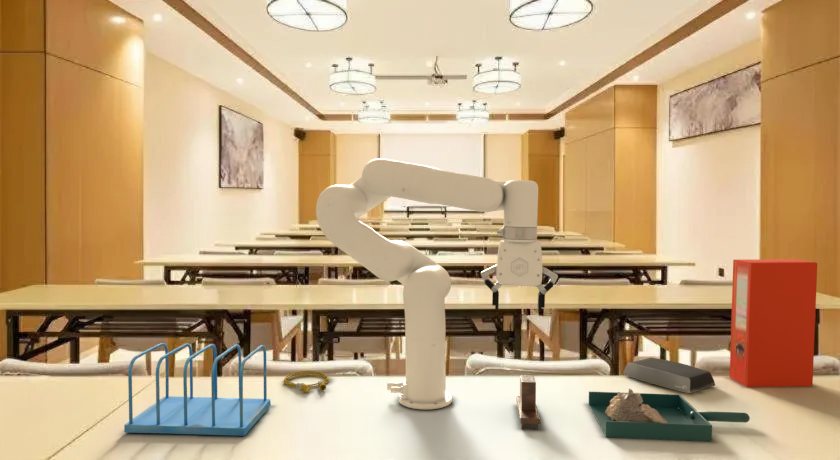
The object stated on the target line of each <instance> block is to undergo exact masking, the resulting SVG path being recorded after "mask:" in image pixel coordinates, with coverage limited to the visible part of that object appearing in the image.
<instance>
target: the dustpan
mask: <svg viewBox="0 0 840 460" xmlns="http://www.w3.org/2000/svg"><path fill="white" fill-rule="evenodd" d="M622 393H623V394H624V393H626V394H628V392H622ZM639 393H640V396H641V397H642V400H643V402H642V404H645V405H649V406H650V408H653V409H655V410H657V411H658V413H659V414H660V416H661V417H662V418H665V420H666V421H667V422H668V423H651V422H625V421H616V420H613V421H611V420H612V419H611V417H608V415H607V413H605V411H606V410H607V408H608V406H609V405H610V401H611V399H613V398H614V396H617V394H618V393H617V391H615V392H613V391H588V407H589V408H590V410H591V412H592V414H593V416H594V418H595V419H596V422H597V423H598V425H599V427H600V429H601V431H602V433H603V435H604V437H605V438H617V439H618V438H619V439H642V440H643V439H645V440H665V441H666V440H667V441H689V442H690V441H691V442H692V441H693V442H710V441H713V425H712V423H710V422H721V423H743V424H744V423H746V424H747V423H748V422H750V420H751V418H750V415H749V414H748V413H746V412H741V411H740V412H737V411H736V412H735V411H711V410H709V411H707V410H697V409H696V407H694V406H693V405H692V404H690V402H688V401H687V400H686V399H685V398H684V396H682V394H677V393H676V394H674V393H673V394H672V393H646V392H644V393H643V392H639ZM639 406H641V404H640V405H639Z"/></svg>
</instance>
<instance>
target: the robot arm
mask: <svg viewBox="0 0 840 460" xmlns="http://www.w3.org/2000/svg"><path fill="white" fill-rule="evenodd" d="M391 197H392V198H398V199H403V200H408V201H413V202H419V203H424V204H428V205H429V204H430V205H443V206H447V207H454V208H459V209H463V210H470V211H473V212H474V211H475V212H480V213H490V212H498V211H503V227H502V228H498V229H497V230H496V235H497V236H499V237H502V239H501V240H499V244H498V248H497V256H496V257H497V258H496V264H495V265H492V266H490V267H489V268H486V269H484V270H482V271H481V272H480V276H481V278H482V280H483V282H484V284H485V285H486V286H487V288H489V290H490V291H491V293H492V299H491V300H492V303H491V306H494V310H495V311H498V310H499V305H500V304H499V300H500V291H499V289H500V288H501V287H502V286H517V287H519V286H520V287H521V286H522V287H536V289H537V290H538V292H537V311H538V312H539V313H542V309H543V308H545V307H546V304H545V303H546V294H547V293H548V292H549V291H550V290H551V289H552V288H553V287H554V285H555V283H556V282H557V280H558V279H559V278H558V277H559V275H558V274H557V273H556V272H554V271H552V270H550V269H548V268H547V267H545V266H544V265H543V251H542V244H541V241H539V240H538V213H539V212H538V211H539V209H538V208H539V185H538V183H537V181H534V180H529V179H511V180H508V181H502V180H495V179H493V178H490V177H485V176H478V175H471V174H467V173H466V174H465V173H460V172H454V171H449V170H444V169H440V168H438V167H434V166H429V165H423V164H419V163H418V164H417V163H412V162H411V163H410V162H405V161H399V160H395V159H388V158H381V157H380V158H378V157H377V158H374V159H370V161H368V162H367V163H366V164H365V165H364V167H363V169H362V172H361V177H359V178H358V179H356V180H355V181H353V182H352V183H350V184H334V185H329V186H328V187H326V188H325V189H323V190H322V191H321V192H320V194H319V195H318V198H317V201H316V206H315V208H316V209H315V215H316V221H317V223H318V226H319V228H320V230H321V232H322V234H323V235H324V236H325V237H326V239H328V241H330V242H331V243H332V244H333V245H334V246H335V247H336V248H338V249H339V250H340V251H342V252H343V253H345V254H346V255H347V256H349V257H350V258H352V259H353V260H354V261H355V262H356V263H358V264H359V265H360V266H362V267H363V268H365V269H366V270H368V272H370V273H372V275H374V276H375V277H377V278H378V279H380V280H381V281H385V282H394V281H397V282H398V283H400V284H402V285H403V291H402V297H403V299H402V300H403V307H404V308H403V309H404V310H403V311H404V323H405V324H404V335H405V378H404V380H402V381H400V382H396V381H395V382H394V381H388V382H387V383H386V384H387V385H386V390H387V391H390V393H394V394H396V393H397V394H398V393H400V394H399V396H398V402H399V404H401V406H404V407H406V408H409V409H414V410H423V411H424V410H427V411H428V410H438V409H442V408H445V407H448V406H449V405H450V404H451V403H452V402H453V395H452V394H451V393H450V392H448V391H446V388H447V387H446V383H447V382H446V381H447V380H446V379H447V378H446V375H447V373H446V367H447V366H446V363H447V362H446V359H447V357H446V356H447V355H446V354H447V353H446V352H447V351H446V350H447V348H446V346H447V341H446V340H447V339H446V337H447V335H446V333H447V332H446V331H447V329H446V328H447V327H446V308H445V307H446V305H445V301H446V297H447V296H448V295H449V293H450V292H451V289H452V280H451V276H450V274H449V272H448V271H447V270H446V269H445V268H444V267H443V266H442V265H440V264H439V263H437V262H436V261H435V260H433V259H432V258H430V257H429V256H428V255H426V254H424V253H423V252H422V251H421V250H419V249H418V248H416V247H415V246H413V245H411V244H410V243H408V242H406V241H403V240H399V239H393V240H390V239H388V238H386V237H385V236H383V235H382V234H380V233H379V232H377V231H376V230H375V229H373V228H372V227H371V226H369V225H367V224H366V223H364V222H362V221H361V220H359V219H358V218H360V217H362V216H364V215H366V214H367V213H368V212H370V211H372V210H374V209H375V208H376V207H378V206H380V205H381V204H383V203H384V202H385V201H387V200H388V199H390V198H391ZM493 273H496V276H495V277H496V281H495V283H493V282H492V281H491V279H490V277H489V275H491V274H493ZM543 275H546V276H547V277H549V280H548V282H547V283H545V285H543V284H542V282H543Z"/></svg>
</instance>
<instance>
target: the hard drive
mask: <svg viewBox="0 0 840 460" xmlns="http://www.w3.org/2000/svg"><path fill="white" fill-rule="evenodd" d="M625 365H626V366H625V367H624V370H623V372H622V375H624V376H626V377H630V378H632V379H636V380H639V381H642V382H645V383H647V384H648V383H649V384H653V385H656V386H659V387H662V388H667V389H670V390H674V391H678V392H682V393H686V394H692V393H696V392H699V391H702V390H706V389H709V388H711V387H714V386H716V383H715V379H714V377H713V375H712V373H711V372H710V371H707V370H705V369H702V368H699V367H695V366H692V365H689V364H686V363H681V362H677V361H674V360H673V361H672V360H667V359H663V358H657V357H647V358H643V359H641V360H640V359H639V360H635V361H631V362H630V361H629V362H627V364H625Z"/></svg>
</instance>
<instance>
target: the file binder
mask: <svg viewBox="0 0 840 460" xmlns="http://www.w3.org/2000/svg"><path fill="white" fill-rule="evenodd" d="M817 281H818V262H817V261H810V260H804V259H797V258H796V259H795V258H792V259H790V258H789V259H787V258H783V259H779V258H778V259H776V258H775V259H774V258H773V259H769V258H768V259H766V258H765V259H763V258H762V259H761V258H759V259H757V258H756V259H733V260H732V285H731V286H732V287H731V288H732V291H731V317H730V319H731V321H730V322H731V323H730V349H729V350H730V352H729V359H730V360H729V378H730V379H731V380H733V381H735V382H736V383H738V384H740V385H742V386H744V387H746V388H763V387H764V388H769V387H770V388H771V387H772V388H773V387H777V388H778V387H780V388H781V387H784V388H785V387H812V386H813V382H814V362H815V361H814V358H815V334H816V331H815V330H816V308H817V283H818V282H817Z"/></svg>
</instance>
